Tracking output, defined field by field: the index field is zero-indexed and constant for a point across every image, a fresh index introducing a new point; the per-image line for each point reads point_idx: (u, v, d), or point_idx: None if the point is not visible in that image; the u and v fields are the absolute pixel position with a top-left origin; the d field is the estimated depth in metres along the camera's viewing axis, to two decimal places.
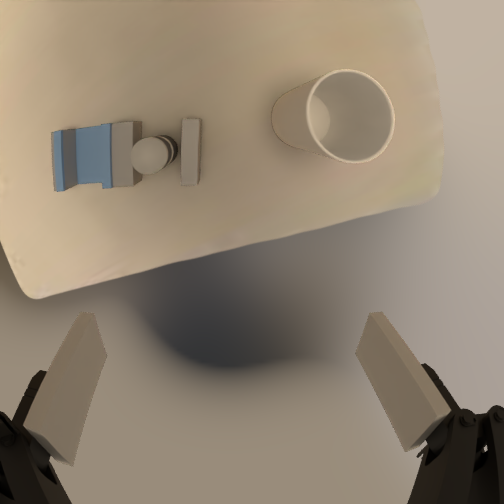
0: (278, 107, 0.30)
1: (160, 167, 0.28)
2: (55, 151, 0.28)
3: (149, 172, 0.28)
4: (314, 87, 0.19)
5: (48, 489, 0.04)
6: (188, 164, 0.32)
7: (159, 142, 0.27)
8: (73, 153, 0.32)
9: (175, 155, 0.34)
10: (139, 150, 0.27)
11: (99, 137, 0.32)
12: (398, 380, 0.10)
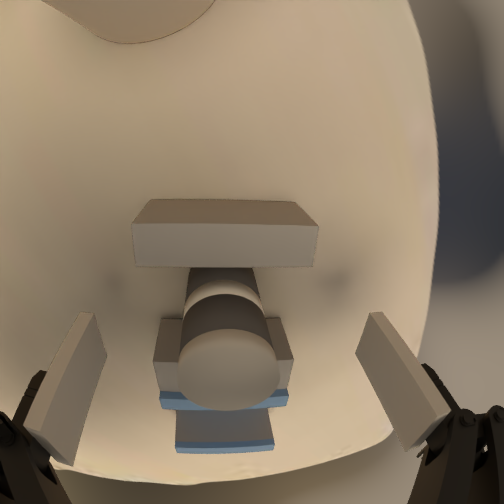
0: (97, 21, 0.07)
1: (264, 358, 0.10)
2: (208, 452, 0.19)
3: (274, 379, 0.10)
4: None
5: (48, 489, 0.04)
6: (259, 249, 0.12)
7: (189, 362, 0.09)
8: (215, 414, 0.22)
9: None
10: (212, 397, 0.10)
11: None
12: (398, 380, 0.10)
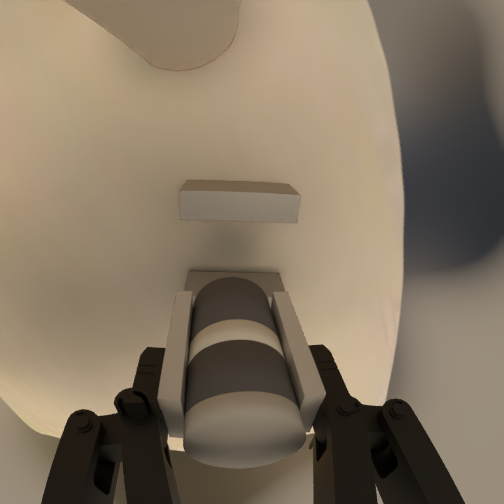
0: (157, 58, 0.14)
1: (289, 425, 0.07)
2: None
3: (298, 441, 0.08)
4: None
5: (169, 475, 0.06)
6: (261, 209, 0.19)
7: (198, 431, 0.07)
8: None
9: (247, 291, 0.13)
10: (225, 459, 0.08)
11: None
12: (285, 357, 0.11)
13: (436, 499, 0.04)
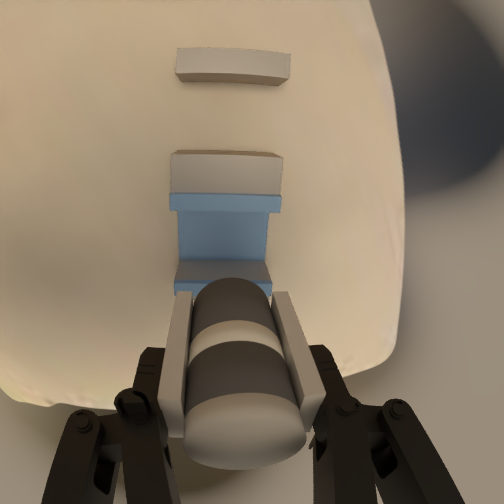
0: None
1: (290, 427, 0.07)
2: None
3: (299, 442, 0.08)
4: None
5: (169, 475, 0.06)
6: (254, 63, 0.17)
7: (198, 433, 0.07)
8: (216, 264, 0.26)
9: (247, 292, 0.13)
10: (225, 460, 0.08)
11: (195, 219, 0.25)
12: (285, 357, 0.11)
13: (436, 499, 0.04)
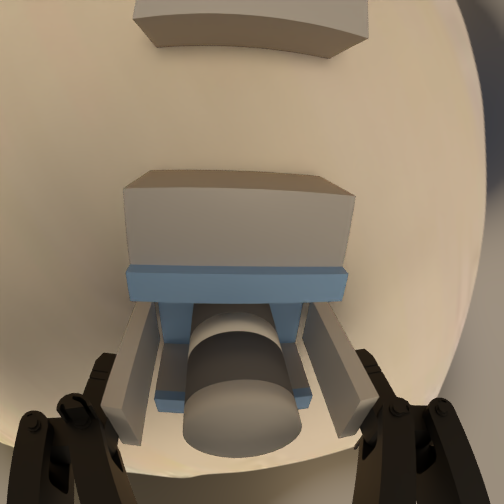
0: None
1: (285, 413, 0.08)
2: None
3: (294, 430, 0.08)
4: None
5: (117, 478, 0.05)
6: (299, 1, 0.06)
7: (197, 418, 0.07)
8: None
9: None
10: (223, 448, 0.08)
11: None
12: (331, 363, 0.11)
13: (466, 494, 0.04)
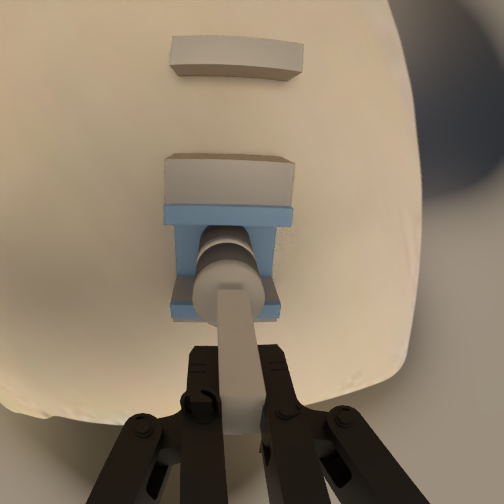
0: None
1: (253, 279, 0.15)
2: None
3: (260, 298, 0.16)
4: None
5: None
6: (261, 53, 0.14)
7: (202, 280, 0.15)
8: None
9: (234, 226, 0.21)
10: (216, 314, 0.16)
11: (194, 231, 0.22)
12: None
13: None
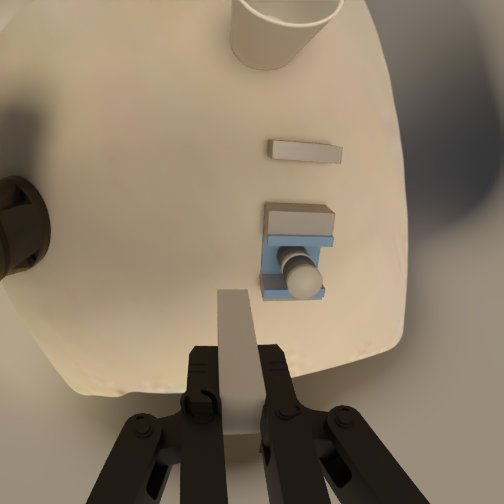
0: (259, 61, 0.25)
1: (317, 273, 0.31)
2: (284, 296, 0.36)
3: (320, 282, 0.32)
4: (264, 17, 0.14)
5: None
6: (320, 154, 0.30)
7: (294, 274, 0.31)
8: None
9: None
10: (298, 291, 0.32)
11: (274, 247, 0.38)
12: None
13: None
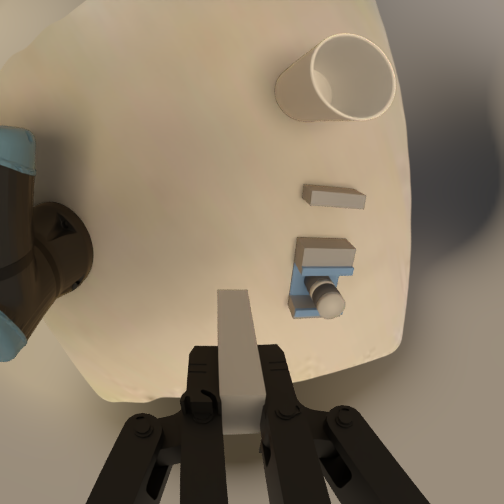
0: (305, 119, 0.32)
1: (342, 299, 0.38)
2: (311, 315, 0.43)
3: (343, 306, 0.38)
4: (335, 110, 0.20)
5: None
6: (348, 201, 0.37)
7: (324, 300, 0.38)
8: None
9: None
10: (326, 313, 0.39)
11: None
12: None
13: None
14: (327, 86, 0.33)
